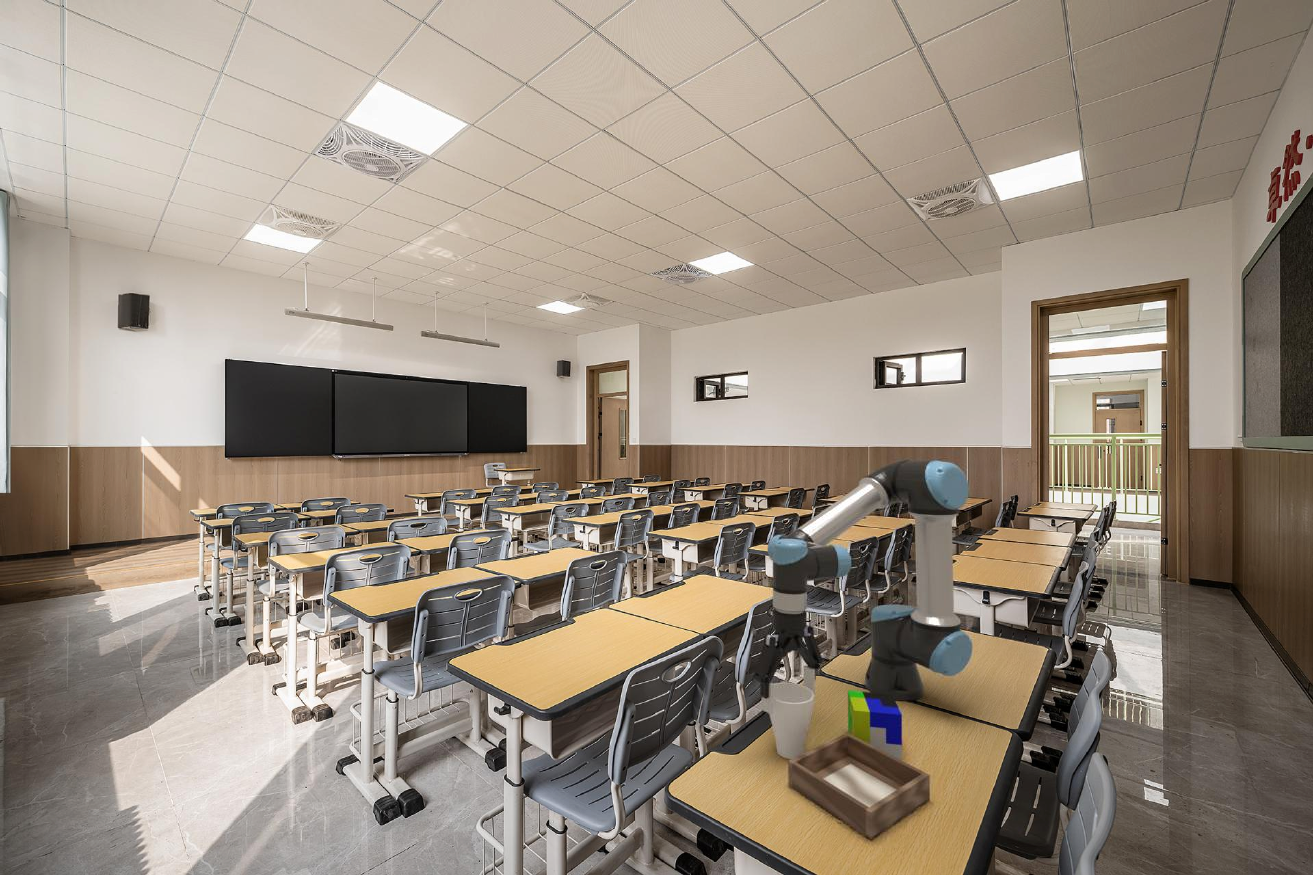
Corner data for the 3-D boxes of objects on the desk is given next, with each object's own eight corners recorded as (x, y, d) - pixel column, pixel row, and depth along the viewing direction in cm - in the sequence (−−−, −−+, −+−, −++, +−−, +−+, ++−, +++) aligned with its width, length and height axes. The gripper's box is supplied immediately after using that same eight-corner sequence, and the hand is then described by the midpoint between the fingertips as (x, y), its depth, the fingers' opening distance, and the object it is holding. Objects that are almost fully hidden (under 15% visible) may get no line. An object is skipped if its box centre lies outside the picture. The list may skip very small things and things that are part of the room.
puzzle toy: (902, 760, 122) (901, 714, 122) (854, 755, 124) (854, 710, 124) (892, 736, 132) (892, 693, 132) (848, 731, 134) (847, 690, 134)
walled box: (847, 754, 124) (846, 732, 124) (929, 800, 108) (929, 774, 108) (788, 785, 113) (788, 760, 113) (870, 840, 97) (870, 812, 97)
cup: (806, 771, 118) (806, 707, 118) (759, 756, 123) (759, 695, 123) (820, 747, 127) (819, 688, 127) (776, 735, 132) (775, 678, 132)
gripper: (812, 596, 135) (812, 683, 135) (737, 613, 121) (736, 711, 121) (838, 604, 129) (838, 695, 129) (762, 623, 115) (761, 726, 115)
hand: (788, 703), depth 125 cm, fingers open, 13 cm apart
